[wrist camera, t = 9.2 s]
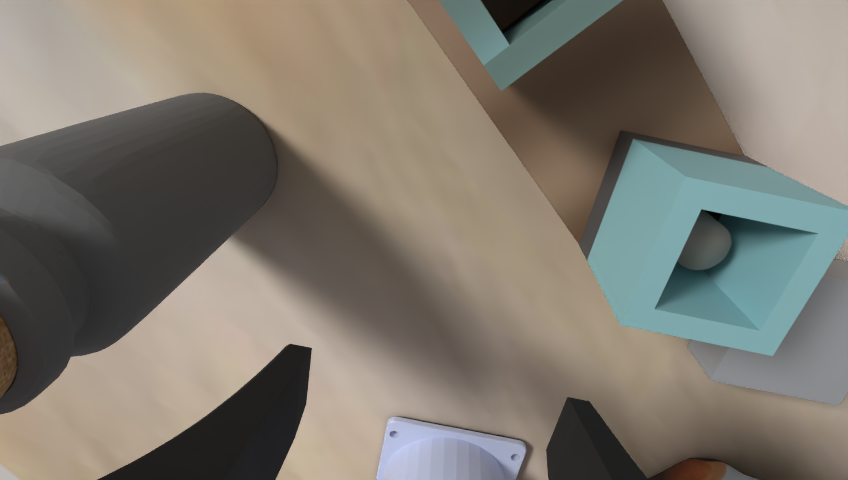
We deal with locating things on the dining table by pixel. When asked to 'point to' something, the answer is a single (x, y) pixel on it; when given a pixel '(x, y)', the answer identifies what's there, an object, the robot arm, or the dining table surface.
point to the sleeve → (671, 226)
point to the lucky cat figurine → (701, 471)
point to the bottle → (116, 225)
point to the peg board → (583, 92)
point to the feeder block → (795, 349)
